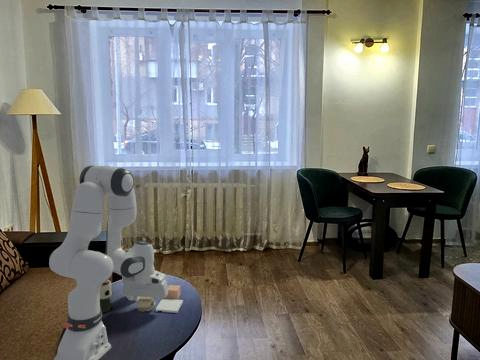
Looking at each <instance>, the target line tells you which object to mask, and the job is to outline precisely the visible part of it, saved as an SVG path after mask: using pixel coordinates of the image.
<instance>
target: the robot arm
mask: <svg viewBox="0 0 480 360" xmlns="http://www.w3.org/2000/svg"><path fill="white" fill-rule="evenodd" d="M78 181H79V184H78V185H77V187H76V190H75V193H74V197H73V200H72V206H71V210H70V211H71V213H70V217H69V218H70V219H69V225H68V231H67V234H66V236H65V238H64V240H63V242H62V243H61V245H60V246H59V247H57V248H56V249H55V250H53V251H52V253H51V254H50V256H49V260H48V261H49V262H48V264H49V268H50V270H51V271H52V272H54V273H56V274H57V275H59V276H61V277H66V278H70V279H73V280H74V279H75V280H76V287H74V288H73V289H72V290H71V291H70V292H69V293H68V296H67V306H68V314H67V319H66V321H65V322H64V323H63V324H62V328H63V329H66V330H65V331H64V333H63V335H62V337H61V340H60V341H59V345H58V347H57V353H56V355H55V356H54V358H53V360H100V359H101V358H102V357H103V356H105V354H106V353H107V352H109V350H111V349H112V344H111V343H110V342H109V340H108V335H107V330H106V329H107V327H106V325H104V322H103V321H102V320H103V312H102V311H101V308H100V289H101V286H102V284H103V283H104V282H105V281H106V280H109V279H110V277H111V276H112V274H113V273H116V274H117V275H119V276H121V277H122V283H123V285H122V295H124V296H125V297H126V296H133V298H134V299H135V300H134V301H135V305H137V306H138V300H139V299H138V296H140V297H153V299H154V301H152V302H151V306H153V307H155V306H156V301H157V299H166V296H167V294H168V286H169V285H168V283H167V280H166V274H165V273H163V272H161V271H158V270H155V266H154V262H155V252H154V247H153V244H152V243H150V242H148V241H146V240H145V241H144V240H139V241H135V242H134V244H133V246H132V247H131V248H130V249H129V250H127V251H125V250H124V249H123V248H122V230H123V228H125V227H129V226H131V225H132V224H133V223H134V222H135V220H136V219H137V214H138V211H137V210H138V208H137V200H136V199H137V197H136V193H135V188H134V185H135V178H134V176H133V173H132V172H131V171H130V170H128V169H125V168H123V167H114V166H109V165H95V164H94V165H93V164H92V165H88V166H85V167H83V169H82V170H81V173H80V175H79V180H78ZM106 196H108V218H107V221H106V222H107V223H106V234H105V238H106V239H105V251H104V253H102V252H100V251H97V250H96V251H95V250H90V249H89V245H90V242H91V241H92V240H94V239H95V238H97V237H99V235H100V234H101V233H102V225H103V217H104V216H103V215H104V205H105V204H104V202H105V201H104V200H105V197H106Z"/></svg>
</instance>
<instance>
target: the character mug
mask: <svg viewBox="0 0 480 360" xmlns="http://www.w3.org/2000/svg"><path fill="white" fill-rule="evenodd" d="M112 294H113V293H112V281H111V280H109V279H108V280H106V281H105V282H104V283H103V284H102V286H101V289H100V308H101V311H102V313H108V312H109V311H111V309H112V302H111V298H110V297H112Z"/></svg>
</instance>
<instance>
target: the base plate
mask: <svg viewBox="0 0 480 360" xmlns="http://www.w3.org/2000/svg"><path fill="white" fill-rule="evenodd" d="M183 303H184V300H183V299H166V298H161V300H160V302H159V303H158V304H157V306H156V308H155V310H154V311H155V312H158V311H162V312H161V313H175V314H177V313H178V312H179V309H180V308H181V306H182V305H183Z"/></svg>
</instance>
